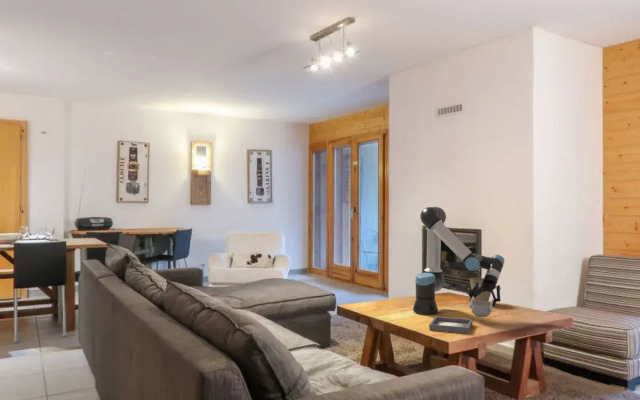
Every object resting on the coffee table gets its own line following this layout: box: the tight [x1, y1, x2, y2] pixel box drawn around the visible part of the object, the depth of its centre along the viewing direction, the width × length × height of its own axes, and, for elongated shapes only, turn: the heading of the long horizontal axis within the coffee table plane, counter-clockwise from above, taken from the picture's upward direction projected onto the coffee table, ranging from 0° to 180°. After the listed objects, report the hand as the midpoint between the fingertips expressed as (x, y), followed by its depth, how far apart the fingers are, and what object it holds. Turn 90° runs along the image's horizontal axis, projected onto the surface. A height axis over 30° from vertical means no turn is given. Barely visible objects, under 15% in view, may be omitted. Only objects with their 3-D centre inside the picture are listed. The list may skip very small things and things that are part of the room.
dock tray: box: [428, 316, 473, 335], centre depth 267 cm, size 20×20×3 cm
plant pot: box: [469, 277, 492, 302], centre depth 331 cm, size 15×15×16 cm
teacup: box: [470, 300, 492, 318], centre depth 281 cm, size 14×11×8 cm
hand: (479, 308), depth 279 cm, fingers closed on teacup, 11 cm apart
